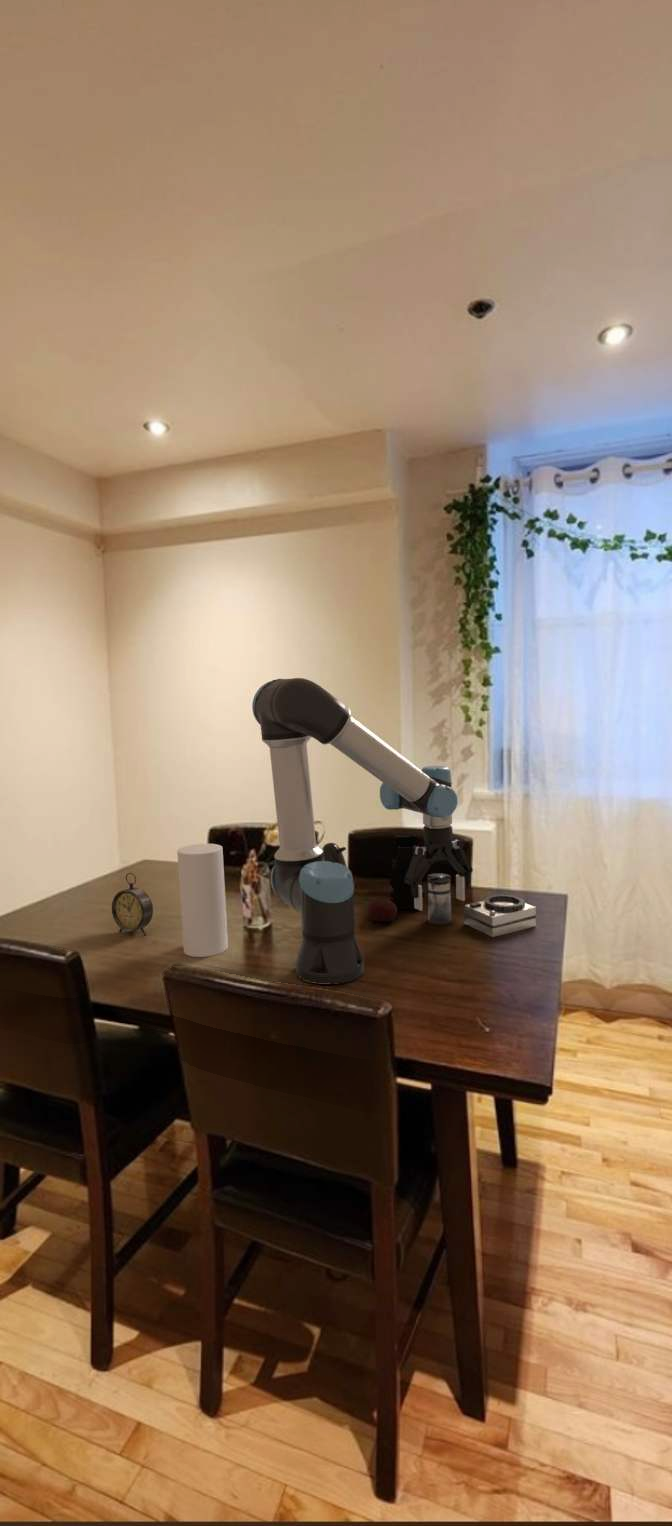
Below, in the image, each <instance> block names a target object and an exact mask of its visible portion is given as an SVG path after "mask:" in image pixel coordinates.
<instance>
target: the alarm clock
mask: <svg viewBox="0 0 672 1526" xmlns="http://www.w3.org/2000/svg"><path fill="white" fill-rule="evenodd" d="M129 875H132V876H133V877H134V879H135V880H134V882H129V881H128V876H129ZM125 880H126V882H127V884H128V885H129V888H127V889H124V890H123V889H122V890H120V891H118V892H116V894H115V895H114V896H113V899H112V903H111V913H112V914H111V915H112V918H113V920H114V922H115V924H116V925H117V926H118V927H119V928H120V929H119V931H118V932H119V933H121V932H122V931H124V932H129V933H132V932H133V933H134V932H136V931H138V930H140V932H141V933H142V934H143V936H144V937H146V936H147V933H146V932H145V931H146V930H145V929H144V928H145V927H146V926H148V925H149V924H150V922H151V921H152V919H153V914H154V907H153V902H152V900H151V898H150V896H149V895H148V893H147V892H146V891H145V890H143V889H141V888H139V887H134V885H135V884H136V883H137V877H136V875H135V874H134V873H133V872H128V873H126V875H125Z"/></svg>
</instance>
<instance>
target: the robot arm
mask: <svg viewBox="0 0 672 1526" xmlns="http://www.w3.org/2000/svg"><path fill="white" fill-rule="evenodd" d="M251 704H252V706H251V707H252V708H251V709H252V714H253V716H254V717H253V718H254V719H255V720H256V722H257V723H258V724H259V725H260V730H261V731H260V732H261V733H260V734H261V741H262V742H263V743H264V744H266V745H267V747H268V748H269V754H270V765H271V773H272V783H273V793H274V803H275V811H276V813H275V815H276V823H277V831H278V842H279V848H278V849H277V850H276V852H275V853H274V865H273V866H272V869H271V871H270V872H271V873H270V884H271V885H270V886H271V888H272V890H273V892H274V894H275V895H276V896H277V898H279V900H280V901H281V902H282V903H284V904H285V905H287V906H289V907H291V908H292V909H293V910H295V911H297V912H298V913H300V915H301V933H302V934H301V938H302V939H301V943H300V946H299V949H298V952H297V957H296V961H295V974H296V973H297V974H298V976H300V977H301V978H302V979H304V980H307V981H310V982H316V983H330V984H335V983H343V984H345V983H344V982H347V983H350V982H352V981H355V980H357V979H359V978H360V977H361V976H362V975H363V974H364V972H365V959H364V957H363V955H362V952H361V949H360V946H359V944H358V940H357V938H356V930H355V929H356V927H355V922H356V921H355V893H354V892H355V883H354V878H353V873H352V871H351V870H350V868H349V867H348V866H347V867H346V866H344V865H342V864H339V863H332V862H330V861H324V854H323V849H322V848H323V847H321V846H320V845H319V844H318V843H317V839H316V832H315V830H316V827H315V819H314V809H313V807H314V806H313V797H312V787H311V786H312V784H311V776H310V767H309V765H310V764H309V757H308V756H309V755H308V742H309V741H310V740H311V738H313V739H314V740H316V741H317V742H319V743H320V744H322V745H325V746H326V745H331V746H333V747H334V748H335V749H337V750H338V751H339V752H341V753H342V754H343V755H345V756H346V757H347V758H349V759H350V760H351V761H353V762H354V763H356V764H357V765H359V767H361V768H363V769H364V770H365V771H366V772H367V773H370V774H371V775H372V776H373V777H374V778H376V779H377V780H379V781H381V782H382V784H381V785H380V788H379V798H380V799H379V800H380V802H381V804H382V806H383V807H384V808H385V809H386V810H388V811H391V810H393V811H394V810H396V811H399V810H400V809H405V810H409V811H413V812H416V813H419V814H420V813H421V814H422V824H423V825H424V826H423V829H422V831H423V841H424V845H423V846H419V845H418V846H415V847H414V855H413V858H412V860H411V863H410V866H409V869H408V871H407V874H406V877H405V880H404V882H405V883H407V884H409V885H411V891H412V897H414V908H415V909H414V910H418V911H421V912H422V911H423V910H424V909H423V898H422V891H423V885H422V886H421V885H419V884H420V882H421V883H422V880H424V877H425V875H426V874H427V872H428V870H429V869H430V867H431V866H432V865H434V863H435V862H436V863H438V862H440V861H448V863H449V864H450V866H452V867H453V869H454V870H455V871H456V872H457V873H458V874H456V875H455V886H456V888H455V891H456V893H455V894H456V896H455V897H456V899H457V900H459V901H462V902H464V901H466V894H465V892H466V889H465V888H467V877H469V876H470V873H471V874H472V873H473V867H472V866H471V862H470V861H469V858H468V857H467V854H466V851H465V849H464V847H463V841H462V840H459V839H456V838H453V837H454V836H453V835H454V834H453V833H454V832H453V826H452V824H453V813H455V810H456V809H457V806H458V795H457V793H456V791H455V789H453V788H452V784H453V782H452V773H451V770H450V768H449V767H447V766H445V765H427V766H424V767H422V768H421V769H420V768H418V766H416V765H414V764H413V763H412V762H411V761H410V760H408V759H407V758H405V757H404V756H403V755H402V754H400V753H399V752H398V751H396V750H395V749H394V748H392V746H390V745H389V744H388V743H386V742H385V741H384V740H383V739H381V738H380V737H379V736H377V735H376V734H375V733H373V732H372V731H371V730H369V728H367V727H365V726H364V725H363V724H362V723H361V722H359V721H358V720H357V719H355V717H353V716H352V714H351V709H350V708H349V707H348V706H347V705H345V704H344V703H342V702H341V701H340V700H339V699H337V698H336V697H335V696H334V695H332V694H331V693H330V692H329V691H327V690H326V689H325V688H323V687H322V686H321V685H319V684H318V683H316V682H314V681H312V680H309V679H306V678H302V677H294V678H277V679H273V680H271V681H268V682H266V683H264V684H263V685H261V686H260V687H259V688H258V689H257V691H256V692H255V694H254V696H253V699H252V703H251ZM452 849H453V850H454V852H455V854H456V856H457V859H458V860H459V861H458V860H457V859H456V856H455V855H454V854H453V852H452ZM421 862H422V863H421ZM298 976H297V977H298ZM349 981H350V982H349Z"/></svg>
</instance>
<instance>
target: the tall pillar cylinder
mask: <svg viewBox="0 0 672 1526" xmlns="http://www.w3.org/2000/svg"><path fill="white" fill-rule="evenodd" d="M223 849H224V848H223V846H222V845H220V844H216V843H194V844H189V845H185V846H182V847H179V848H178V849H177V851H176V853H177V868H178V882H179V897H180V913H181V914H180V915H181V929H182V930H181V931H182V945H183V953H184V954H185V955H187V956H189V957H193V958H194V957H196V958H206V957H207V958H208V957H213V956H217V955H219V954H221V953H223V952H225V951H226V950H227V949H228V947H229V939H228V926H227V925H228V924H227V923H228V922H227V921H228V920H227V906H226V905H227V904H226V903H227V902H226V886H225V870H224V868H225V867H224V853H223V852H224V851H223Z"/></svg>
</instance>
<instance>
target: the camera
mask: <svg viewBox="0 0 672 1526" xmlns="http://www.w3.org/2000/svg"><path fill="white" fill-rule="evenodd" d="M418 838H419V837H418V835H413V834H412V835H410V834H409V835H394V855H395V856H394V859H393V858H392V857H391V858H390V859H391V860H390V861H392V862H391V865H392V866H391V869H392V872H391V873H390V878H389V885H390V886H391V889H392V891H390V899H393V903H394V904H395V905H396V907H397V910H416V909H415V908H414V897H412V891H411V885H409V884H407V883H405V882H404V880H405V877H406V874H407V871H408V869H409V866H410V863H411V860H412V858H413V855H414V847H415V846H418V847H419V845H418V843H419V840H418ZM421 863H422V861H421ZM421 863H420V864H421ZM419 885H421V886H422V887H423V886H424V883H423V882H422V881H421V882H420V884H419ZM425 897H426V895H425V891H424V890H422V899H425Z"/></svg>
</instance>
